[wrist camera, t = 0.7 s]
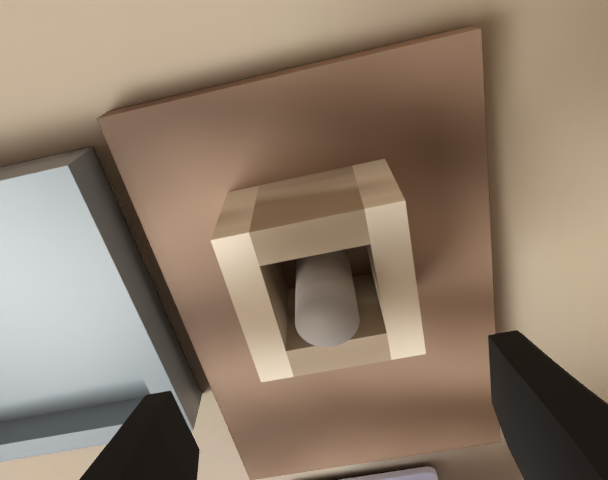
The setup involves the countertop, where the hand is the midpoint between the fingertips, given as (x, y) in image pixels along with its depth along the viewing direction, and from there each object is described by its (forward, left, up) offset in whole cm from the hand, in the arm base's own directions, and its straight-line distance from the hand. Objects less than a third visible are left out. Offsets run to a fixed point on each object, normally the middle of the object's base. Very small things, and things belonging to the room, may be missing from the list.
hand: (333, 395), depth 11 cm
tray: (-1, +13, -8) cm, 15 cm away
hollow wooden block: (0, 0, -7) cm, 7 cm away
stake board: (-3, 0, -8) cm, 9 cm away
